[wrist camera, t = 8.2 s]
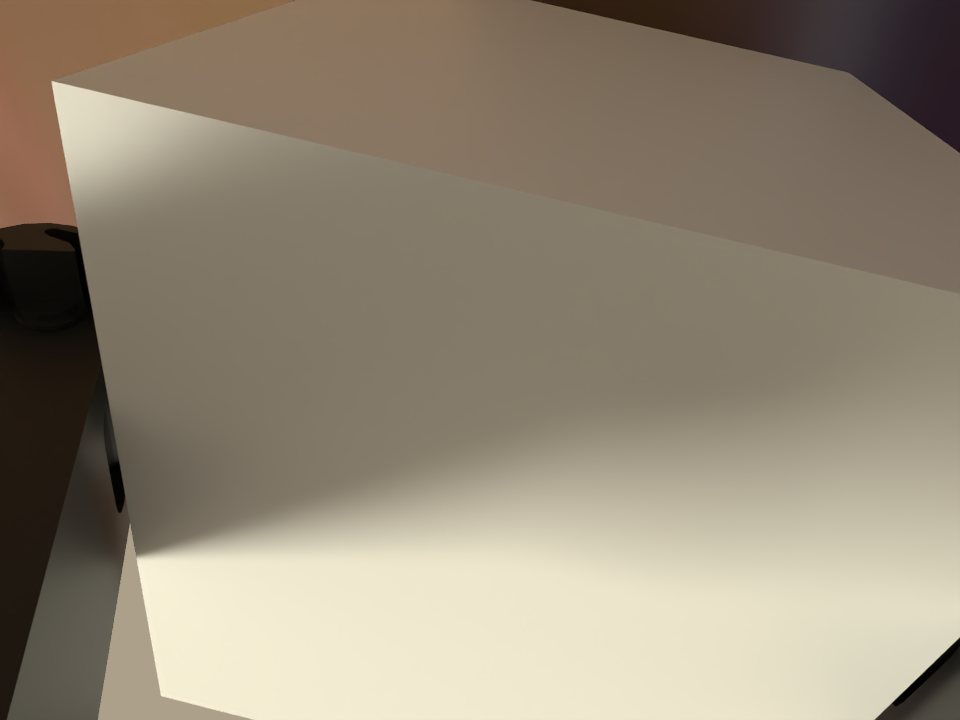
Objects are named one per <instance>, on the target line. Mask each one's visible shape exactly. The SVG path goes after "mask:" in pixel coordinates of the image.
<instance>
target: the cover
mask: <svg viewBox="0 0 960 720" xmlns="http://www.w3.org/2000/svg"><path fill="white" fill-rule="evenodd" d="M52 87H53V93H54V98H55V104H56V109H57V115H58V121H59V126H60V132H61V137H62V143H63V149H64V154H65V160H66V165H67V171H68V177H69V182H70V188H71V193H72V199H73V205H74V210H75V216H76V221H77V227H78V233H79V238H80V244H81V250H82V255H83V261H84V266H85V272H86V278H87V283H88V289H89V294H90V300H91V306H92V311H93V317H94V322H95V328H96V334H97V339H98V345H99V350H100V356H101V362H102V367H103V373H104V378H105V384H106V390H107V395H108V401H109V406H110V412H111V418H112V423H113V429H114V435H115V440H116V446H117V451H118V457H119V463H120V468H121V474H122V479H123V485H124V491H125V496H126V502H127V507H128V513H129V519H130V524H131V530H132V535H133V541H134V547H135V552H136V558H137V563H138V568H139V575H140V580H141V586H142V591H143V597H144V602H145V607H146V614H147V619H148V625H149V631H150V635H151V642H152V648H153V653H154V659H155V664H156V670H157V675H158V681H159V687H160V692H161V696H163V697H167V698H171V699H175V700H179V701H183V702H187V703H191V704H195V705H199V706H203V707H207V708H210V709H214V710H218V711H222V712H226V713H230V714H234V715H238V716H242V717H246V718H249V719H253V720H875V719H876V718H877V717H878V716H879V715H880V714H881V713H882V712H883V711H884V710H885V709H886V708H887V707H888V706H889V705H890V704H891V703H892V702H893V701H894V700H895V699H896V698H897V697H898V696H899V695H901V694H902V693H903V692H904V691H905V690H906V689H907V688H908V687H909V686H910V685H911V684H912V683H913V682H914V681H915V680H916V679H917V678H918V677H919V676H920V675H921V674H922V673H923V672H924V671H925V670H926V669H927V668H929V667H930V666H931V665H932V664H933V663H934V662H935V661H936V660H937V659H938V658H939V657H940V656H941V655H942V654H943V653H944V652H945V651H946V650H947V649H948V648H949V647H950V646H951V645H952V644H953V643H954V642H956V641H957V640H958V639H959V638H960V153H959V152H958V151H956V150H955V149H953V148H952V147H951V146H949V145H948V144H947V143H945V142H944V141H942V140H941V139H940V138H938V137H937V136H936V135H934V134H933V133H931V132H930V131H929V130H927V129H926V128H924V127H923V126H922V125H920V124H919V123H918V122H916V121H915V120H913V119H912V118H911V117H909V116H908V115H907V114H905V113H904V112H902V111H901V110H900V109H898V108H897V107H896V106H894V105H893V104H891V103H890V102H889V101H887V100H886V99H885V98H883V97H882V96H880V95H879V94H878V93H876V92H875V91H873V90H872V89H871V88H869V87H868V86H867V85H865V84H864V83H862V82H861V81H860V80H858V79H857V78H856V77H854V76H853V75H851V74H850V73H848V72H844V71H839V70H835V69H830V68H826V67H822V66H817V65H813V64H809V63H804V62H800V61H795V60H791V59H787V58H782V57H778V56H773V55H769V54H765V53H760V52H756V51H751V50H747V49H743V48H738V47H734V46H729V45H725V44H721V43H716V42H712V41H707V40H703V39H699V38H694V37H690V36H686V35H681V34H677V33H672V32H668V31H664V30H659V29H655V28H650V27H646V26H642V25H637V24H633V23H628V22H624V21H620V20H615V19H611V18H606V17H602V16H598V15H593V14H589V13H584V12H580V11H576V10H571V9H567V8H563V7H558V6H554V5H549V4H545V3H541V2H536V1H532V0H295V1H292V2H289V3H286V4H283V5H280V6H277V7H274V8H271V9H268V10H265V11H262V12H259V13H256V14H253V15H250V16H247V17H244V18H241V19H238V20H235V21H232V22H229V23H226V24H223V25H220V26H217V27H214V28H211V29H208V30H205V31H201V32H198V33H195V34H192V35H189V36H186V37H183V38H180V39H177V40H174V41H171V42H168V43H165V44H162V45H159V46H156V47H153V48H150V49H147V50H144V51H141V52H138V53H135V54H132V55H129V56H126V57H123V58H120V59H117V60H114V61H111V62H108V63H105V64H102V65H99V66H96V67H92V68H89V69H86V70H83V71H80V72H77V73H74V74H71V75H68V76H65V77H62V78H59V79H56V80H53V81H52Z"/></svg>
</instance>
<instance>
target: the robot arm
mask: <svg viewBox="0 0 960 720" xmlns="http://www.w3.org/2000/svg"><path fill="white" fill-rule="evenodd" d="M129 524H130V519H129V513H128V507H127V502H126V496H125V491H124V485H123V479H122V474H121V468H120V463H119V457H118V451H117V446H116V440H115V435H114V429H113V423H112V418H111V412H110V406H109V401H108V395H107V390H106V384H105V378H104V373H103V367H102V362H101V356H100V350H99V345H98V339H97V334H96V328H95V322H94V317H93V311H92V306H91V300H90V294H89V289H88V283H87V278H86V272H85V266H84V261H83V255H82V250H81V244H80V238H79V233H78V227H75V226H69V225H61V224H53V223H38V224H21V225H16V226H10V227H5V228H0V720H98V714H99V707H100V702H101V696H102V690H103V683H104V677H105V671H106V665H107V659H108V653H109V646H110V641H111V635H112V628H113V622H114V615H115V610H116V604H117V597H118V591H119V585H120V580H121V573H122V567H123V561H124V555H125V549H126V543H127V537H128V531H129ZM875 720H960V638H959V639H958V640H957V641H956V642H954V643H953V644H952V645H951V646H950V647H949V648H948V649H947V650H946V651H945V652H944V653H943V654H942V655H941V656H940V657H939V658H938V659H937V660H936V661H935V662H934V663H933V664H932V665H931V666H930V667H929V668H927V669H926V670H925V671H924V672H923V673H922V674H921V675H920V676H919V677H918V678H917V679H916V680H915V681H914V682H913V683H912V684H911V685H910V686H909V687H908V688H907V689H906V690H905V691H904V692H903V693H902V694H901V695H899V696H898V697H897V698H896V699H895V700H894V701H893V702H892V703H891V704H890V705H889V706H888V707H887V708H886V709H885V710H884V711H883V712H882V713H881V714H880V715H879V716H878V717H877V718H876V719H875Z"/></svg>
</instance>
